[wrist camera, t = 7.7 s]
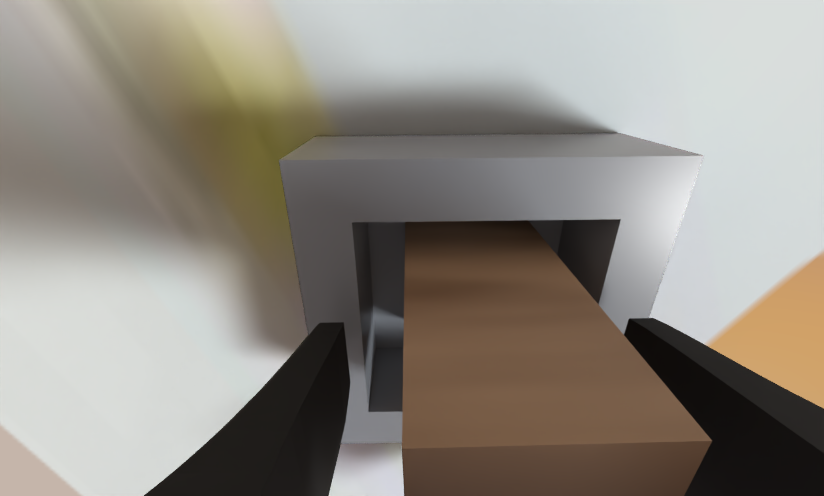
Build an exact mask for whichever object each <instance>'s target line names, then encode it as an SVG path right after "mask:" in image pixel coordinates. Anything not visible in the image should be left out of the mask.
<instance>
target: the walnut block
mask: <svg viewBox="0 0 824 496" xmlns="http://www.w3.org/2000/svg"><path fill="white" fill-rule="evenodd" d="M711 442H712V440H711V439H710V438H709V436H708V435H707V434H706V433H705V432H704V430H703V429H702V428H701V427H700V426H699V424H698V423H697V422H696V421H695V420H694V418H693V417H692V416H691V415H690V414H689V412H688V411H687V410H686V409H685V408H684V406H683V405H682V404H681V403H680V402H679V400H678V399H677V398H676V397H675V396H674V394H673V393H672V392H671V391H670V390H669V388H668V387H667V386H666V385H665V384H664V382H663V381H662V380H661V379H660V378H659V377H658V375H657V374H656V373H655V372H654V371H653V369H652V368H651V367H650V366H649V365H648V363H647V362H646V361H645V360H644V359H643V357H642V356H641V355H640V354H639V353H638V351H637V350H636V349H635V348H634V347H633V345H632V344H631V343H630V342H629V341H628V339H627V338H626V337H625V336H624V335H623V333H622V332H621V331H620V330H619V329H618V327H617V326H616V325H615V324H614V323H613V321H612V320H611V319H610V318H609V317H608V315H607V314H606V313H605V312H604V311H603V309H602V308H601V307H600V306H599V305H598V304H597V302H596V301H595V300H594V299H593V298H592V296H591V295H590V294H589V293H588V292H587V290H586V289H585V288H584V287H583V286H582V284H581V283H580V282H579V281H578V280H577V278H576V277H575V276H574V275H573V274H572V272H571V271H570V270H569V269H568V268H567V266H566V265H565V264H564V263H563V262H562V260H561V259H560V258H559V257H558V256H557V254H556V253H555V252H554V251H553V250H552V248H551V247H550V246H549V245H548V244H547V242H546V241H545V240H544V239H543V238H542V236H541V235H540V234H539V233H538V232H537V231H536V229H535V228H534V227H533V226H532V225H531V223H530V222H529V221H528V220H515V221H429V222H405V277H404V345H403V412H402V459H403V478H404V496H684V495H685V493H686V491H687V489H688V487H689V485H690V483H691V481H692V479H693V477H694V475H695V473H696V471H697V470H698V468H699V466H700V464H701V462H702V460H703V458H704V456H705V454H706V452H707V450H708V448H709V446H710V444H711Z"/></svg>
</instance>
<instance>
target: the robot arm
mask: <svg viewBox="0 0 824 496" xmlns="http://www.w3.org/2000/svg"><path fill="white" fill-rule="evenodd" d="M624 336H625V337H626V338H627V339H628V341H629V342H630V343H631V344H632V345H633V347H634V348H635V349H636V350H637V351H638V353H639V354H640V355H641V356H642V357H643V359H644V360H645V361H646V362H647V363H648V365H649V366H650V367H651V368H652V369H653V371H654V372H655V373H656V374H657V375H658V377H659V378H660V379H661V380H662V381H663V382H664V384H665V385H666V386H667V387H668V388H669V390H670V391H671V392H672V393H673V394H674V396H675V397H676V398H677V399H678V400H679V402H680V403H681V404H682V405H683V406H684V408H685V409H686V410H687V411H688V412H689V414H690V415H691V416H692V417H693V418H694V420H695V421H696V422H697V423H698V424H699V426H700V427H701V428H702V429H703V430H704V432H705V433H706V434H707V435H708V436H709V438H710V439H711V440H712V442H711V444H710V446H709V448H708V450H707V452H706V454H705V456H704V458H703V460H702V462H701V464H700V466H699V468H698V470H697V471H696V473H695V475H694V477H693V479H692V481H691V483H690V485H689V487H688V489H687V491H686V493H685V495H684V496H824V409H823V408H821V407H819V406H817V405H815V404H813V403H812V402H810V401H808V400H806V399H804V398H802V397H800V396H798V395H796V394H794V393H792V392H790V391H788V390H786V389H784V388H782V387H780V386H779V385H777V384H775V383H773V382H771V381H769V380H767V379H766V378H764V377H762V376H760V375H758V374H756V373H755V372H753V371H751V370H749V369H747V368H746V367H743V366H742V365H740V364H738V363H736V362H735V361H733V360H731V359H729V358H727V357H726V356H724V355H722V354H720V353H718V352H717V351H715V350H713V349H711V348H709V347H708V346H706V345H704V344H702V343H700V342H699V341H697V340H695V339H693V338H691V337H689V336H688V335H686V334H684V333H682V332H680V331H678V330H676V329H674V328H673V327H671V326H669V325H667V324H665V323H663V322H660V321H658V320H656V319H654V318H629V320H628V323H627V326H626V330H625V333H624ZM350 383H351V382H350V373H349V364H348V355H347V346H346V338H345V329H344V322H330V323H319V324H318V325H317V326H316V327H315V328H314V329H313V330H312V331H311V333H310V334H309V335H308V336H307V337H306V339H305V340H304V341H303V342H302V343H301V345H300V346H299V347H298V348H297V349H296V351H295V352H294V353H293V354H292V355H291V356H290V358H289V359H288V360H287V361H286V362H285V363H284V364H283V366H282V367H281V368H280V369H279V370H278V371H277V372H276V373H275V374H274V376H273V377H272V378H271V379H270V380H269V381H268V382H267V383H266V384H265V385H264V387H263V388H262V389H261V390H260V391H259V392H258V393H257V394H256V395H255V396H254V397H253V398H252V399H251V400H250V401H249V402H248V403H247V404H246V405H245V406H244V407H243V408H242V409H241V410H240V411H239V412H238V413H237V414H236V415H235V416H234V417H233V418H232V419H231V420H230V421H229V422H228V423H227V424H226V425H225V426H224V427H223V428H222V429H221V430H220V431H219V432H218V433H217V434H216V435H214V436H213V437H212V438H211V439H210V440H209V441H208V442H207V443H206V444H205V445H204V446H202V447H201V448H200V449H199V450H198V451H197V452H196V453H195V454H193V455H192V456H191V457H190V458H189V459H188V460H187V461H185V462H184V463H183V464H182V465H181V466H180V467H179V468H177V469H176V470H175V471H174V472H173V473H171V474H170V475H169V476H168V477H166V478H165V479H164V480H163V481H162V482H160V483H159V484H158V485H157V486H155V487H154V488H153V489H152V490H150V491H149V492H148V493H147V494H145V495H144V496H328V495H329V491H330V487H331V482H332V478H333V474H334V470H335V466H336V461H337V457H338V453H339V449H340V444H341V440H342V436H343V432H344V427H345V423H346V416H347V408H348V400H349V392H350Z"/></svg>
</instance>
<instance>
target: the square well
mask: <svg viewBox="0 0 824 496" xmlns="http://www.w3.org/2000/svg"><path fill="white" fill-rule="evenodd" d="M703 158H704V156H703V155H699V154H696V153H692V152H688V151H685V150H681V149H677V148H673V147H670V146H666V145H662V144H658V143H655V142H651V141H647V140H644V139H640V138H636V137H632V136H629V135H625V134H621V133H595V134H495V135H395V136H315V137H314V138H312V139H311V140H309V141H307V142H306V143H304V144H303V145H301V146H300V147H298V148H297V149H295V150H294V151H292V152H291V153H289V154H288V155H286V156H285V157H283V158H281V159H280V160H279V164H280V170H281V176H282V182H283V188H284V194H285V200H286V206H287V212H288V218H289V224H290V230H291V236H292V242H293V247H294V253H295V259H296V265H297V271H298V277H299V283H300V289H301V295H302V301H303V307H304V313H305V319H306V325H307V331H308V335H309V334H310V333H311V331H312V330H313V329H314V328H315V327H316V326H317V325H318V324H319V323H330V322H344V329H345V338H346V346H347V355H348V364H349V373H350V382H351V383H350V392H349V400H348V408H347V416H346V423H345V427H344V432H343V436H342V440H341V444H355V443H402V412H403V345H404V277H405V222H429V221H515V220H528V221H529V222H530V223H531V225H532V226H533V227H534V228H535V229H536V231H537V232H538V233H539V234H540V235H541V236H542V238H543V239H544V240H545V241H546V242H547V244H548V245H549V246H550V247H551V248H552V250H553V251H554V252H555V253H556V254H557V256H558V257H559V258H560V259H561V260H562V262H563V263H564V264H565V265H566V266H567V268H568V269H569V270H570V271H571V272H572V274H573V275H574V276H575V277H576V278H577V280H578V281H579V282H580V283H581V284H582V286H583V287H584V288H585V289H586V290H587V292H588V293H589V294H590V295H591V296H592V298H593V299H594V300H595V301H596V302H597V304H598V305H599V306H600V307H601V308H602V309H603V311H604V312H605V313H606V314H607V315H608V317H609V318H610V319H611V320H612V321H613V323H614V324H615V325H616V326H617V327H618V329H619V330H620V331H621V332H622V333H623V335H624V333H625V330H626V326H627V323H628V320H629V318H649V316H650V313H651V310H652V307H653V304H654V301H655V298H656V295H657V292H658V289H659V286H660V283H661V281H662V278H663V275H664V272H665V269H666V266H667V263H668V260H669V257H670V254H671V251H672V248H673V246H674V243H675V240H676V237H677V234H678V231H679V228H680V225H681V222H682V219H683V216H684V213H685V210H686V208H687V205H688V202H689V199H690V196H691V193H692V190H693V187H694V184H695V181H696V178H697V175H698V172H699V170H700V167H701V164H702V161H703Z"/></svg>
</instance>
